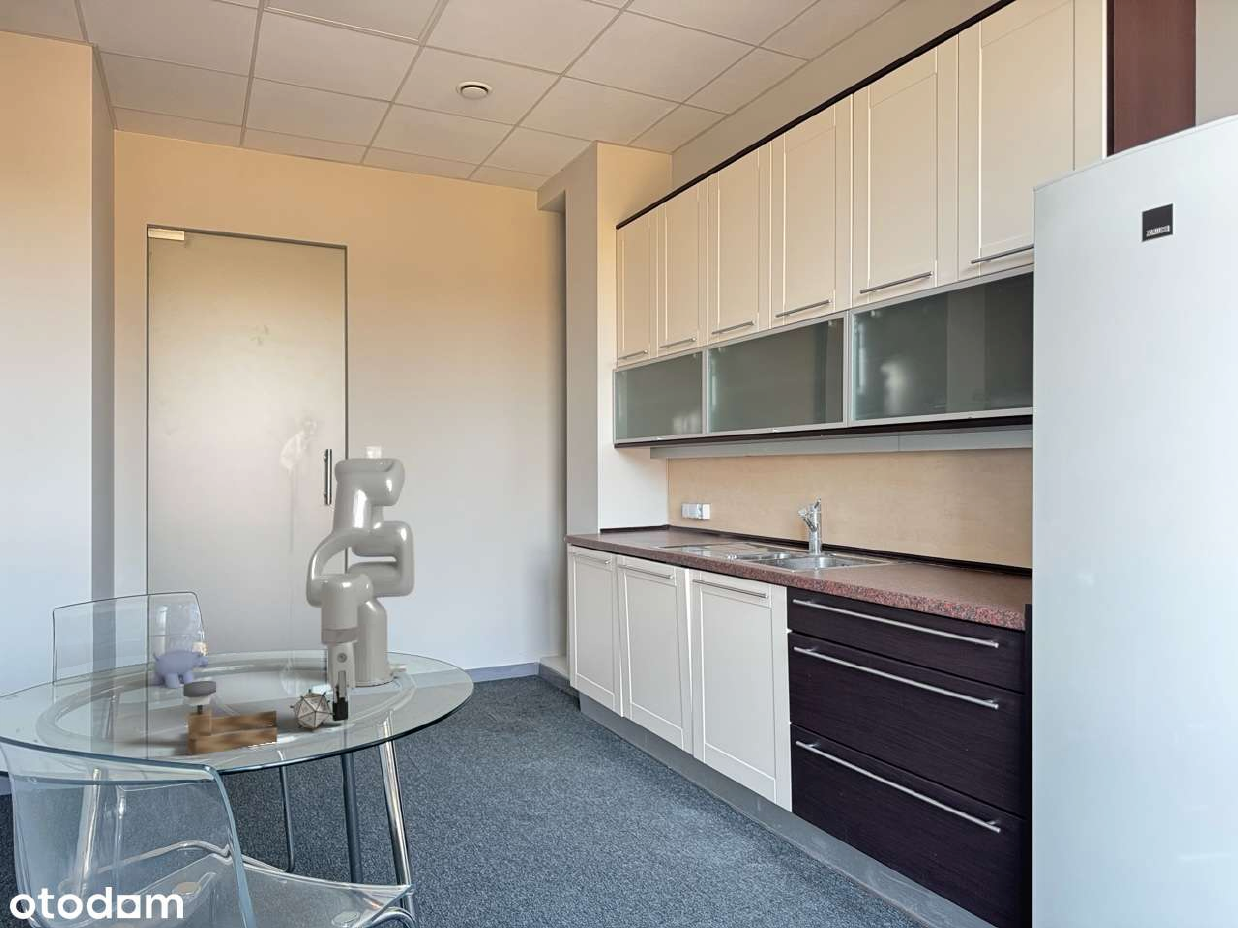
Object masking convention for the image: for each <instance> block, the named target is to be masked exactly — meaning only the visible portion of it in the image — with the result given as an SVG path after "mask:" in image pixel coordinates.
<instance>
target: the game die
mask: <svg viewBox="0 0 1238 928" xmlns="http://www.w3.org/2000/svg"><path fill="white" fill-rule="evenodd" d="M326 695H327V692H326V691H324V692H323V693H322V694H320V693H316V692H312V690H311V689H308V693H307V694H306V695H304V696H303V695H302V694H301V695H300V696H299V697H300V700H298V701H297V702H296V704H295V705H289V708H290V709H293V712H294V716H295V718H293V722H296V721H297V723H298V724H299V725H298V728H300V729H302V727H304V728H308V729H313V732H314V731H316V732H317V727H319V726H320V725H322V724H324V725H325V721H326V719H328V718H329V716H332V715H335V714H334V713H332V711H331V709H330V705H329V703H330V702H331V700H330V699H327V698H326Z"/></svg>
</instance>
